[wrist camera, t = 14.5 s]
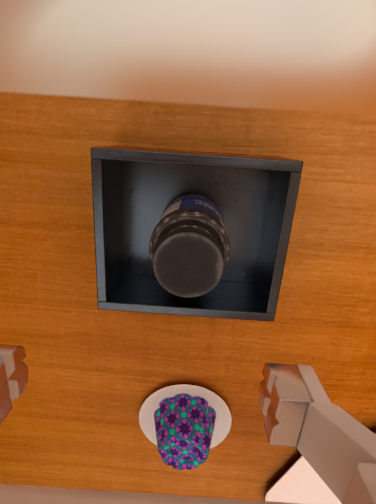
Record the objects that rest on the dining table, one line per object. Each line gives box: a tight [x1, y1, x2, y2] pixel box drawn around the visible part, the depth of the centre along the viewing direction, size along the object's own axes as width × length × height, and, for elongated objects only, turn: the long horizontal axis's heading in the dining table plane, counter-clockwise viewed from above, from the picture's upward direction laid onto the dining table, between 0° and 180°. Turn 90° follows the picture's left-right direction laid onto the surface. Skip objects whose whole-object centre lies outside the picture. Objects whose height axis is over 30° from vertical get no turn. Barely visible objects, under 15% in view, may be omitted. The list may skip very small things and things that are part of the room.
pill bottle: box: [149, 194, 230, 298], centre depth 25 cm, size 6×6×11 cm
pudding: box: [139, 384, 232, 470], centre depth 37 cm, size 12×12×5 cm
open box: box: [91, 146, 303, 321], centre depth 27 cm, size 14×16×7 cm
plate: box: [265, 432, 376, 504], centre depth 43 cm, size 28×28×2 cm
